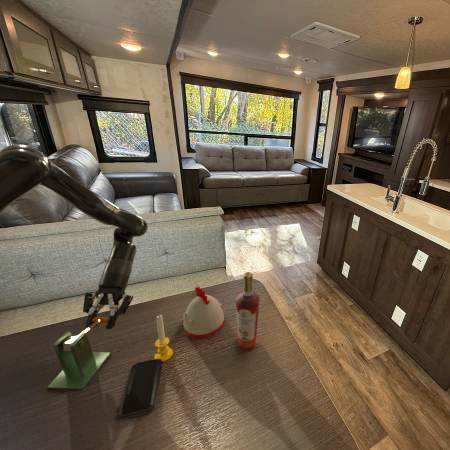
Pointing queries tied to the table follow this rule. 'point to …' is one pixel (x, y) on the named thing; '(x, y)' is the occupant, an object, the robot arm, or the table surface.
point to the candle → (162, 342)
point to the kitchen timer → (203, 316)
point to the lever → (97, 322)
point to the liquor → (247, 314)
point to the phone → (141, 389)
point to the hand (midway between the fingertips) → (99, 328)
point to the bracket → (76, 363)
